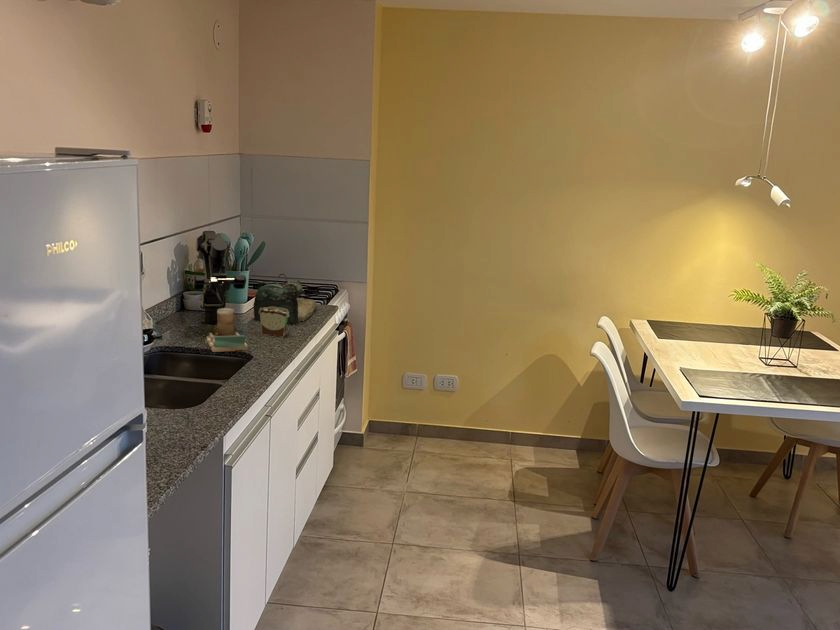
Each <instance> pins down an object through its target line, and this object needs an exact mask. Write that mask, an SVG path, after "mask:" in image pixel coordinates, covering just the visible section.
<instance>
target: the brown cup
mask: <svg viewBox="0 0 840 630" xmlns="http://www.w3.org/2000/svg"><path fill="white" fill-rule="evenodd" d="M234 313H235V309H233V308H228V307H227V308H226V307H225V308H221V309H218V310H217V324H216V325H217V330H216V331H217V332H215V336H231V335H235V331H234V328H235V327H234V326H235V325H234V319H235V318H234Z"/></svg>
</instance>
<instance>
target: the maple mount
mask: <svg viewBox="0 0 840 630" xmlns="http://www.w3.org/2000/svg"><path fill="white" fill-rule="evenodd" d="M206 342H207V345H208V346H209V348H210V347H211V348H210V350H211V351H212V353H214V352H215V353H216V352H217V353H218V352H220V353H221V352H236V350H237V352H239V351H238V350H243V351H249V349H248V348H249V347H248V344H247V343H246V336H245V335H244V334H240V333H239V332H238V331H234V335H231V336H216V335H214V334H213V332H208V336H207V335H206Z"/></svg>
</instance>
